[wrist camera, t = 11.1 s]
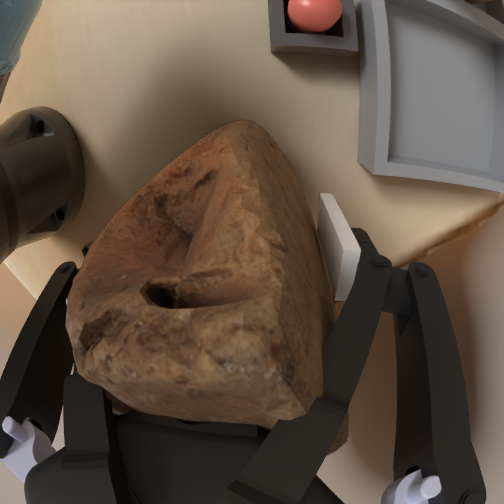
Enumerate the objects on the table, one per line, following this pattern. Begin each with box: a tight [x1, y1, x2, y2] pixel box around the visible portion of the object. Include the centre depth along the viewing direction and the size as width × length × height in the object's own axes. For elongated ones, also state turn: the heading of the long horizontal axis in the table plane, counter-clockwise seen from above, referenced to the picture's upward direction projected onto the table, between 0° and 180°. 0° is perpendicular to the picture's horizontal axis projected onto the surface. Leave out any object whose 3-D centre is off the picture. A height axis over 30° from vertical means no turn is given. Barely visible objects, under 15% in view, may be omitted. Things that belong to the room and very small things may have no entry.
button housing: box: [268, 0, 358, 57], centre depth 13 cm, size 6×6×3 cm
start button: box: [287, 0, 342, 35], centre depth 12 cm, size 3×3×4 cm
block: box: [66, 120, 349, 455], centre depth 14 cm, size 11×8×20 cm
